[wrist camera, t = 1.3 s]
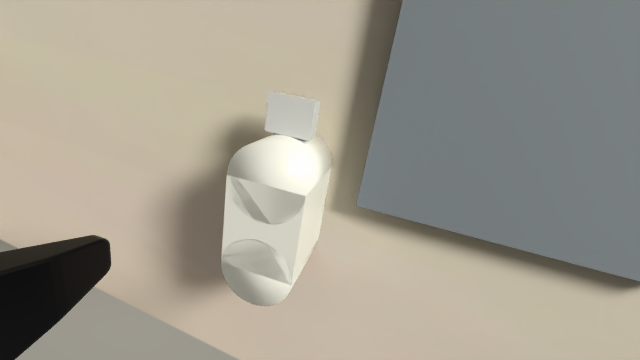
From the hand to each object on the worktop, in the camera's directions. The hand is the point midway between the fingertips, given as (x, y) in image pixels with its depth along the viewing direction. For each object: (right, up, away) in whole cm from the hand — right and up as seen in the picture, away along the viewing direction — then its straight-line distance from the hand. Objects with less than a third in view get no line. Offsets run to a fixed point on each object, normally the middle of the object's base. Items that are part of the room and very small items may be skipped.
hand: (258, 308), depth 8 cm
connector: (0, +2, +12) cm, 12 cm away
